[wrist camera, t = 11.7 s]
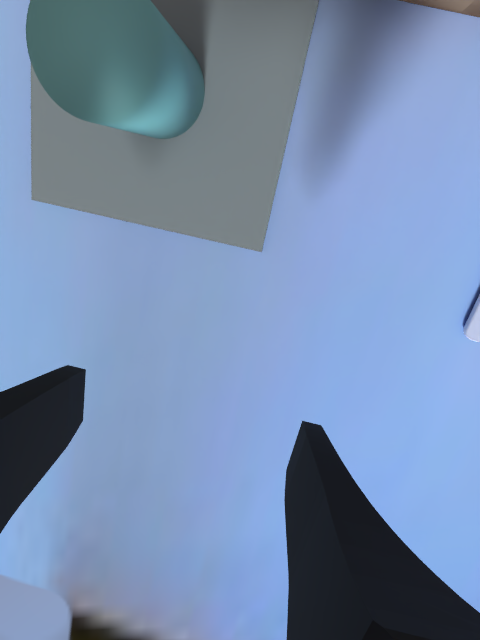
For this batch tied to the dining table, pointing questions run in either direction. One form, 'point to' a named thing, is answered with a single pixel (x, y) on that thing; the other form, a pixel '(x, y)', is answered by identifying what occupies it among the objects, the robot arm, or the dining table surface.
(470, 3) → the holder block
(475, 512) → the dining table surface
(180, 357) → the dining table surface
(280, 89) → the slate mat
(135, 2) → the peg
